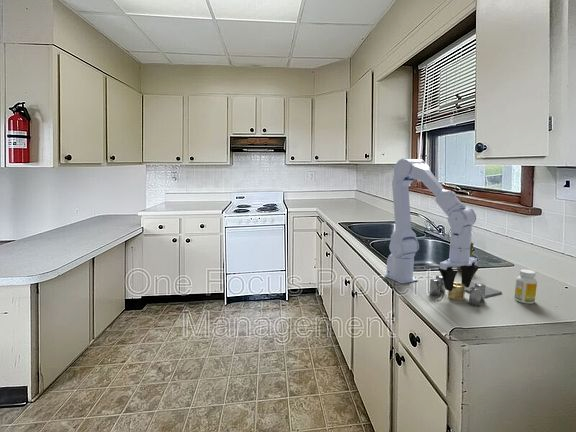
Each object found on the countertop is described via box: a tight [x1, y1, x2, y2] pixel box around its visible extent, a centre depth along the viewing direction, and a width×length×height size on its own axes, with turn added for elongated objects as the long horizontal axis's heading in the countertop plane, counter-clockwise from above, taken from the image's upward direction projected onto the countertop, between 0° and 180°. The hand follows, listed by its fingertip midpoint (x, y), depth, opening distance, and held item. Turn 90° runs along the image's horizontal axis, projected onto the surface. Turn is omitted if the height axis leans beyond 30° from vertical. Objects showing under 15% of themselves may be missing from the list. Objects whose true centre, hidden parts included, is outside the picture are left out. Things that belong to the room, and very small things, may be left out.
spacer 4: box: [475, 282, 487, 303], centre depth 111 cm, size 3×3×5 cm
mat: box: [465, 280, 503, 298], centre depth 120 cm, size 12×9×1 cm
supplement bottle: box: [513, 269, 538, 305], centre depth 110 cm, size 5×5×10 cm
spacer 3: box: [468, 287, 481, 308], centre depth 107 cm, size 3×3×5 cm
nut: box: [447, 281, 466, 301], centre depth 113 cm, size 5×4×4 cm
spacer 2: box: [435, 274, 446, 293], centre depth 119 cm, size 3×3×5 cm
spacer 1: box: [429, 278, 441, 298], centre depth 115 cm, size 3×3×5 cm
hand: (457, 288), depth 113 cm, fingers open, 7 cm apart
